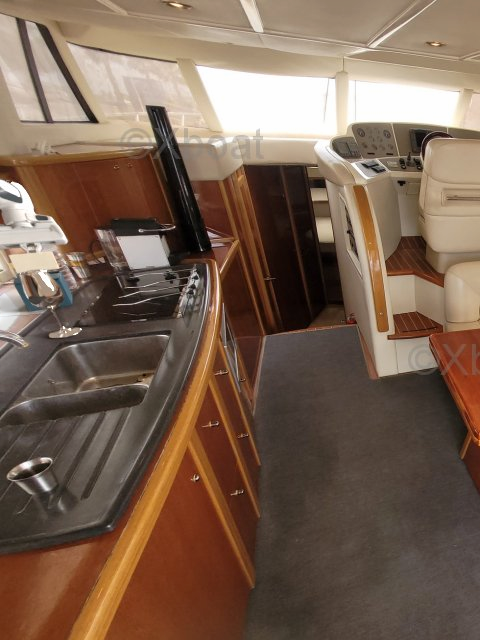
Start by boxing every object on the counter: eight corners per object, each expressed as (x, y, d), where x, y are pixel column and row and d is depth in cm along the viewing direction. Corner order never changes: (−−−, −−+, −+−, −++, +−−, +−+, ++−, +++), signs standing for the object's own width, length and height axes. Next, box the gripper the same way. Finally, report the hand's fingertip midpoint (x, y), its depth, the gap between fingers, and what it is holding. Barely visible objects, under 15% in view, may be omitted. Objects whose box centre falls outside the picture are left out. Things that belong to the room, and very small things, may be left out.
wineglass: (49, 341, 119) (14, 278, 109) (47, 332, 123) (12, 271, 113) (84, 333, 124) (53, 273, 114) (80, 325, 128) (50, 266, 118)
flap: (16, 273, 138) (17, 273, 138) (59, 268, 144) (59, 268, 145) (8, 255, 136) (8, 255, 136) (51, 251, 143) (52, 251, 143)
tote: (31, 300, 143) (16, 272, 138) (72, 294, 150) (59, 268, 144) (29, 311, 135) (13, 283, 130) (72, 305, 141) (58, 277, 136)
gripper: (-25, 220, 136) (-12, 254, 135) (57, 216, 148) (68, 247, 147) (-15, 230, 141) (-4, 264, 140) (62, 226, 153) (74, 256, 152)
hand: (34, 255), depth 144 cm, fingers closed
